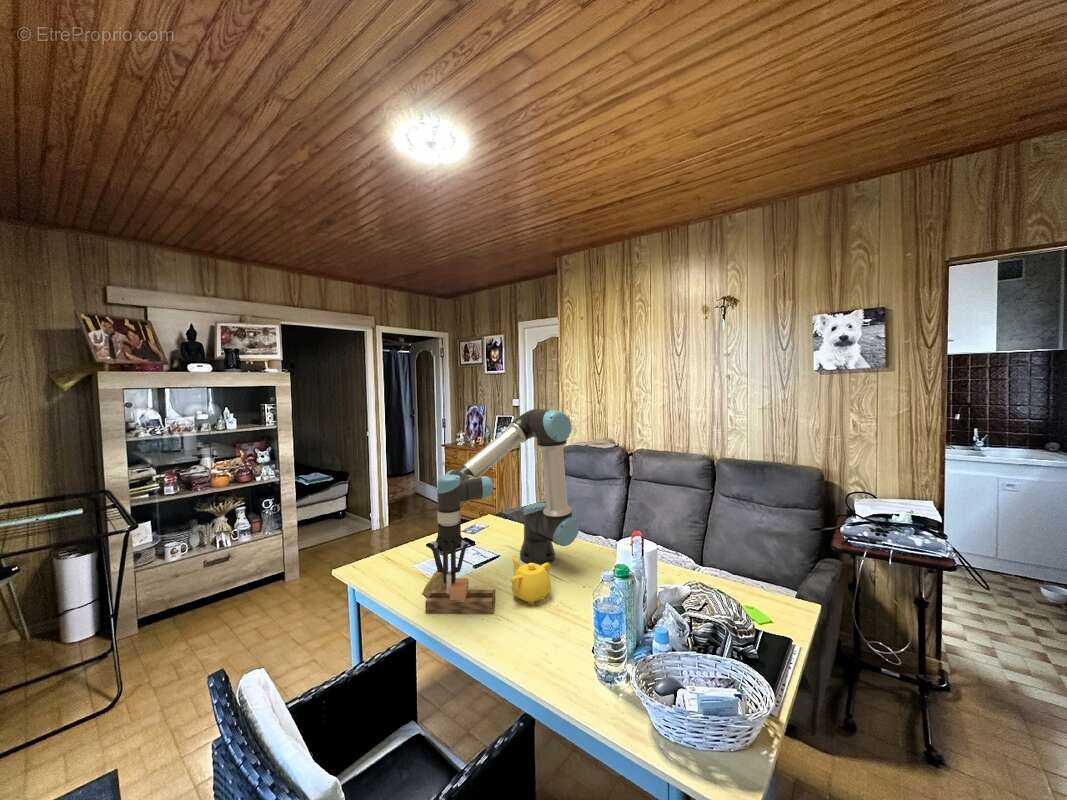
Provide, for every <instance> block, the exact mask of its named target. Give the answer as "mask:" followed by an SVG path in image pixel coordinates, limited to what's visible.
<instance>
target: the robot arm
mask: <svg viewBox="0 0 1067 800" xmlns="http://www.w3.org/2000/svg"><path fill="white" fill-rule="evenodd" d="M571 433H572V422H571V419H570V418H569V416H568V415H567V414H566V413H565V412H563V411H560V410H556V409H544V408H543V409H542V408H533V409H529V410H528V411H526V412H524V413H522V414H521V415H519V416H518V417H517V418H515V419H514V420H513V421H511V422H510V423H509V424H508V427H507V429H505V430H504V431H503V432H502V433H501V434H499V435H498V436H497V437H495V439H493V440H492V441H491V442H489V443H488V444H487V445H486V446H484V447H483V448H482V449H481V450H480V451H478V452H477V453H476V454H475V455H473V456H472V457H471V458H470V459H468V461H466V462H465V463H464V464H463V465H461V466H460V467H459V468H457V469H451V470H448V471H447V472H446V473H445V474H444V475H441V476H439V477H438V479H437V484H436V485H437V486H436V494H437V496H436V497H437V498H436V499H437V536H436V540H434V541H431V543H430V544H429V548H430V550H431V551H432V553H433V558H434V561H435V566H436V569H437V570H438V572H439V573H440V572H441V573H443V579H444V583H447V594H450V586H451V584H452V583H455V580H456V578H457V577H456V575H457V573H461V572H460V571H461V569H462V566H463V561H464V557H465V553H466V550H467V548H468V547H469V544H470V543H469V541H466V540H464V539H463V537H462V535H461V533H462V532H461V531H462V530H461V529H462V528H461V527H462V525H461V519H462V518H461V514H462V513H461V512H462V511H461V506H462V505H461V504H462V503H467V502H468V503H469V502H472V501H473V502H474V501H477V500H483V499H486V498H487V499H488V498H489V497H492V494H493V491H494V485H493V482H492V479H491V477H489V476H483V474H485V473H486V472H487V471H488V470H489V469H490V468H491V467H493V466H495V464H497V463H498V462H499V461H500V460H502V458H504V457H505V456H506V455H507V454H508V453H510V452H511V451H512V450H513V449H515V448H516V447H517V446H518V445H519V444H520V443H522V444H523V443H525V442H527V441H528V440H529V439H532V438H536V446H537V447H539V449H540V450H541V459H542V471H543V483H544V493H545V502H535V503H528V504H527V505H526V506H525V507H524V509H523V542H522V545H521V548H520V551H519V559H520V560H521V561H522V562H523V563H526V564H528V563H535V564H538V565H542V564H544V563H549V564H550V563H552V562H553V561H554V560H555V559H556V551H555V547H554V545H553V543H554V544H555V545H559V546H561V547H566V546H570V545H571V544H572V543H574V542H575V540H576V538H578V536H579V535H578V534H579V532H580V525H579V522H578V520H577V519H576V517H573V510H572V507H570V506H569V505H568V494H567V482H566V469H565V458H564V457H565V456H564V447H565V445H567V439H568V438H569V437H570V434H571ZM459 546H460V548H461V550H460V553H459V558H458V562H457V561H456V560H457V548H458V547H459ZM438 547H440V549H441V550H442V559H441V555H440V552H439V551H440V550H439V548H438ZM449 551H450V552H449ZM449 553H450V570H449ZM437 570H436V571H437Z"/></svg>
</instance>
